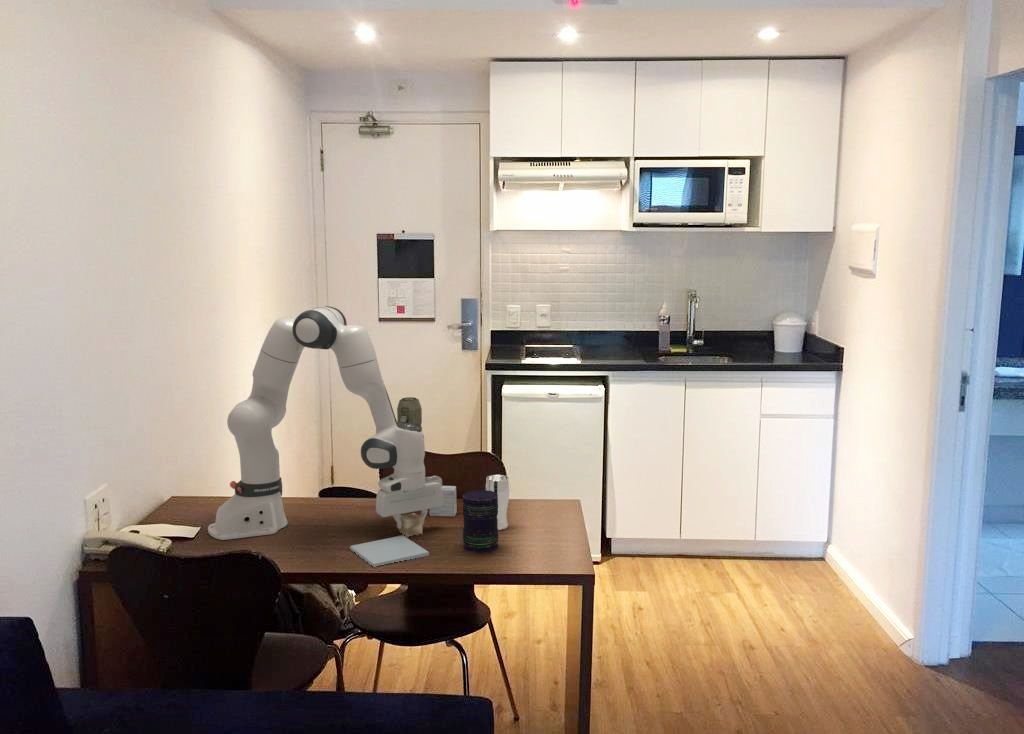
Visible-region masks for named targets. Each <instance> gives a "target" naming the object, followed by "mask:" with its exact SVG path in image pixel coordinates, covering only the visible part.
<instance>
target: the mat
mask: <svg viewBox="0 0 1024 734" xmlns="http://www.w3.org/2000/svg"><path fill="white" fill-rule="evenodd" d="M350 549H351V550H350ZM349 550H350V551H352V552H353V553H354V552H355V553H356V555H357V556H358V555H359V556H358V557H360V558H361V559H362V560H363V559H364V560H363V561H364V562H365V563H367V562H368V563H367V564H368V565H370V566H371V565H372V566H373V568H374V567H375V568H377V567H376V566H379V565H384V564H388V563H393V564H395V563H394V562H398V563H400V562H399V561H402V562H405V561H404V560H407V561H411V560H416V559H420V558H424V557H428V556H430V552H429V551H428V550H426V549H424V547H422V546H420V545H419V544H417V543H415V542H414V541H413V540H411V539H409V537H406V536H404V535H403V534H401V535H397V536H393V537H388V538H383V539H378V540H373V541H368V542H364V543H359V544H358V543H357V544H353V545H350V546H349ZM355 553H354V554H355ZM415 558H416V559H415ZM410 559H411V560H410ZM372 566H371V567H372ZM384 566H385V565H384Z"/></svg>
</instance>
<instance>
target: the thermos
mask: <svg viewBox="0 0 1024 734" xmlns="http://www.w3.org/2000/svg"><path fill="white" fill-rule="evenodd" d="M398 401H399V402H398V404H397V407H396V412H397V413H396V415H397V416H396V417H397V418H396V420H397V423H398V424H400V423H410V424H414V425H417V426H418V427H420V428H421V430H422V431H423V427H422V423H423V422H422V421H423V419H422V418H423V417H422V416H423V415H422V414H423V413H422V410H423V409H422V404H421V402H420V400H419V399H418V398H416V397H411V396H409V397H403V398H401V399H399V400H398ZM423 437H424V438H425V436H424V434H423Z"/></svg>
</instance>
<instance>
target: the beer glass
mask: <svg viewBox="0 0 1024 734" xmlns="http://www.w3.org/2000/svg"><path fill="white" fill-rule="evenodd" d="M485 480H486V481H485V490H488V491H493V492H496V493H497V494H498V498H497V499H498V515H497V528H498V531H500V530H501V531H503V530H506V529H507V528H508V527H509V526H508V525H509V524H508V517H507V512H508V506H509V499H510V481H509V476H508V475H504V474H491V475H487V476H486V479H485ZM502 529H503V530H502Z"/></svg>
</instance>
